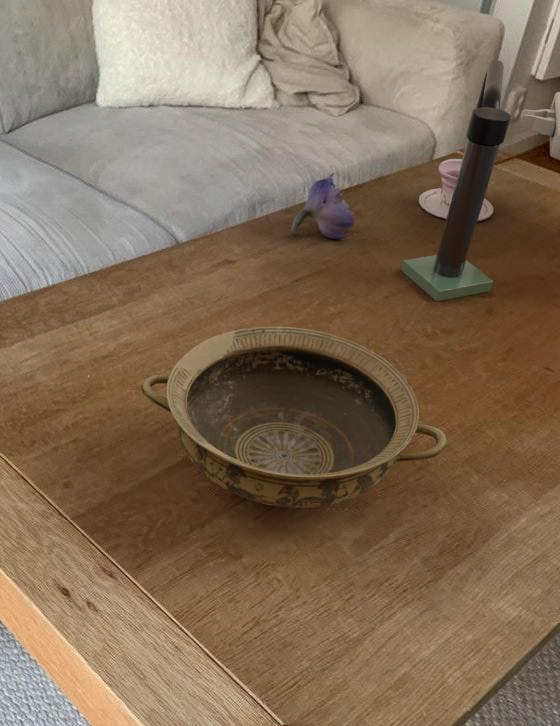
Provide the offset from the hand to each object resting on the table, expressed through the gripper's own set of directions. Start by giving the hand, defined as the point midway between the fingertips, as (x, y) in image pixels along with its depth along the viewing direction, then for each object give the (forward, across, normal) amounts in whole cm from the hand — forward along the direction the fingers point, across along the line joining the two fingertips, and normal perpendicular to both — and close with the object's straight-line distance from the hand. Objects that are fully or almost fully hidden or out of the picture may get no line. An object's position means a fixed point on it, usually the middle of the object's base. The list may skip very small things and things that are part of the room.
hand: (520, 118), depth 123 cm
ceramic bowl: (+19, -73, -15) cm, 77 cm away
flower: (+25, -19, -15) cm, 34 cm away
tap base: (+6, -26, -15) cm, 31 cm away
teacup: (+6, -1, -15) cm, 16 cm away
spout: (+6, -14, -3) cm, 15 cm away
